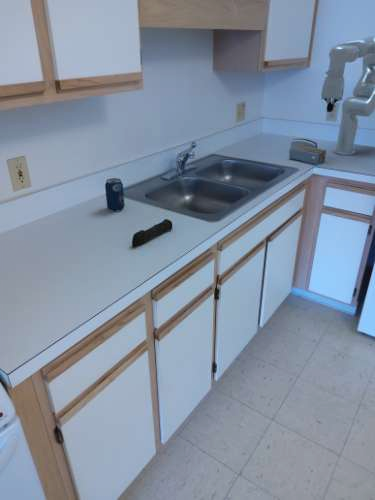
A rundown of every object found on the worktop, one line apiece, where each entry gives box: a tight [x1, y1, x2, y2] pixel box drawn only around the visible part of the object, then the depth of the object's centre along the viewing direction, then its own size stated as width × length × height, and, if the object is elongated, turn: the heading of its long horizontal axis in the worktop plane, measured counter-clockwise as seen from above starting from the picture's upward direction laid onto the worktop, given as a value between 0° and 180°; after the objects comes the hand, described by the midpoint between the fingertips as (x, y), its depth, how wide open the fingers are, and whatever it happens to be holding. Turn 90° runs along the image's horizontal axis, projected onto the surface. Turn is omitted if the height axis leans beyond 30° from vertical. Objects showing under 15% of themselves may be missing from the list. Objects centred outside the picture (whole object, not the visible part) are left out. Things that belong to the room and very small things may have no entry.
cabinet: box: [290, 145, 327, 165], centre depth 220 cm, size 8×17×6 cm, turn 53°
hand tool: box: [131, 218, 173, 248], centre depth 135 cm, size 19×4×5 cm, turn 141°
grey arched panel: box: [289, 137, 319, 150], centre depth 233 cm, size 17×5×10 cm, turn 52°
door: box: [288, 149, 319, 165], centre depth 216 cm, size 2×17×5 cm, turn 48°
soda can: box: [104, 177, 126, 212], centre depth 155 cm, size 7×7×12 cm
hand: (329, 111), depth 207 cm, fingers closed
